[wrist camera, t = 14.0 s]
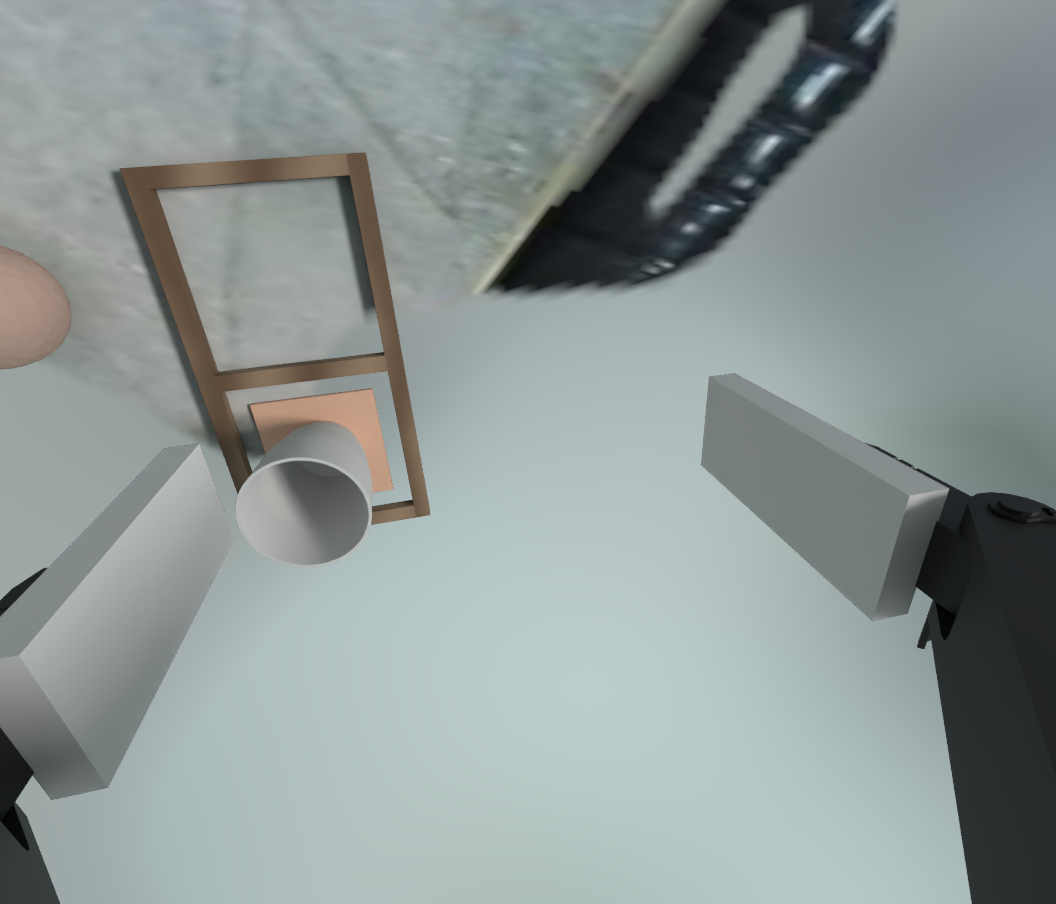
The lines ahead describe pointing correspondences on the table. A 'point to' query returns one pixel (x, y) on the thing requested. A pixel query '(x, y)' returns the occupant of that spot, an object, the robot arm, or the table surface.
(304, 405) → the pad
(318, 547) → the cup
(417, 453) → the brown wooden divided frame
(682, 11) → the table surface
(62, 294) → the egg
